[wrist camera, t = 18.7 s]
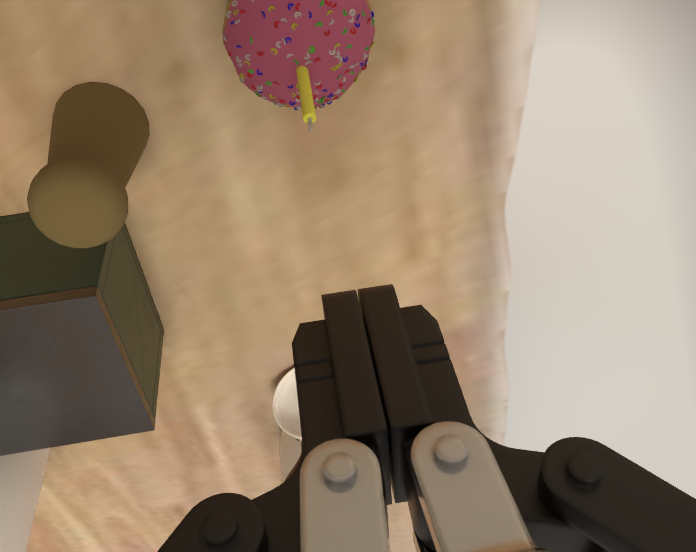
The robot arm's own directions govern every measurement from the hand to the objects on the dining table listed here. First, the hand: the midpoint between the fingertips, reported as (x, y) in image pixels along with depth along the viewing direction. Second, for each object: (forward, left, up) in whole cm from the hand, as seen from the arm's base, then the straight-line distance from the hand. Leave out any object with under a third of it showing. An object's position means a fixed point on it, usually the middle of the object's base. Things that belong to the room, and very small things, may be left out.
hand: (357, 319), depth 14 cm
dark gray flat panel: (-3, -31, -23) cm, 39 cm away
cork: (-4, -16, -32) cm, 36 cm away
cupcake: (+3, -3, -32) cm, 32 cm away
